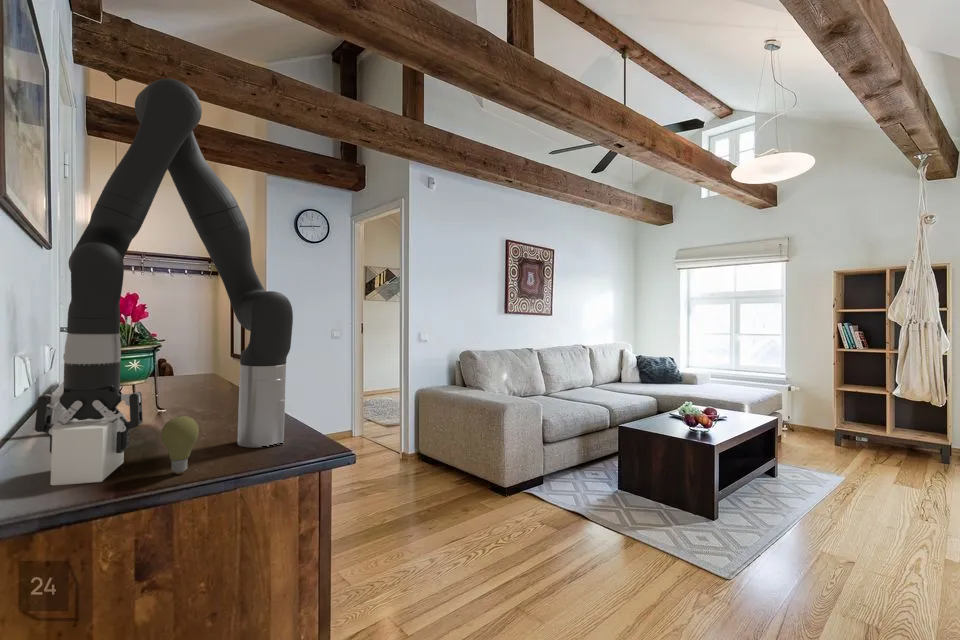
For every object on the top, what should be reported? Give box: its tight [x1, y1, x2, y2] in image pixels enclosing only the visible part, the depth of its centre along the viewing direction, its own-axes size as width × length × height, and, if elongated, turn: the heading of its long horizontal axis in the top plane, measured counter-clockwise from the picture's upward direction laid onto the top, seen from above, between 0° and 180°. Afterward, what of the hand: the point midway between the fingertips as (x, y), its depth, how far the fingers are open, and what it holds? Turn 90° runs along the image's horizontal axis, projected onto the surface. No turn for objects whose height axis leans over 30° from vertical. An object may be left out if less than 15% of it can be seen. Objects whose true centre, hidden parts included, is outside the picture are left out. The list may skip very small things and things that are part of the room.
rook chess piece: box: [46, 402, 67, 435], centre depth 106 cm, size 4×4×8 cm
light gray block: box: [49, 414, 126, 486], centre depth 81 cm, size 7×11×9 cm, turn 22°
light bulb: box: [160, 415, 200, 475], centre depth 83 cm, size 6×6×10 cm
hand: (90, 454), depth 81 cm, fingers open, 8 cm apart
